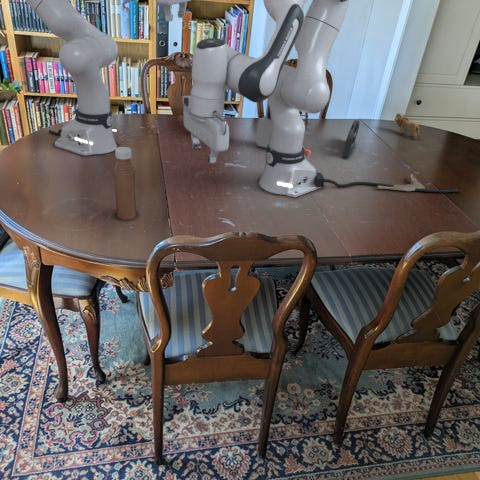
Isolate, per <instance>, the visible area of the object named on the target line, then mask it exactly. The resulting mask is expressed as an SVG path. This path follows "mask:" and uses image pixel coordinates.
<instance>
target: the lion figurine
mask: <svg viewBox="0 0 480 480" xmlns="http://www.w3.org/2000/svg"><path fill="white" fill-rule="evenodd" d="M394 123H395V124H396V125H397V127H399V131H398V132H397V134H399V135H401V134H402V133H403V132H404V130H411V133H412V134H411V135H410V136H411V137H412V139H413V140H416V139H417V137H418V139H420V140H421V139H422V137H421V136H420V127H419V126H420V125H419V124H418V122H417V123H416V122H413V121H410V120H409V119H408V117H407V116H406V115H405V114H403V113H402V112H398V113H396V115H395V117H394ZM414 137H416V138H414Z"/></svg>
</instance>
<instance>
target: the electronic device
mask: <svg viewBox="0 0 480 480" xmlns="http://www.w3.org/2000/svg"><path fill="white" fill-rule="evenodd" d="M266 100H267V101H266V109H265V110H266V111H265V114H264V116H263V117H262V118H260V120H259V125H258V128H257V132H256V137H255V146H257V148H261V149H265V150H267V145H268V144H269V139H270V130H271V115H270V108H269V103H268V99H266Z"/></svg>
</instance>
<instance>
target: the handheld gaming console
mask: <svg viewBox="0 0 480 480" xmlns="http://www.w3.org/2000/svg"><path fill="white" fill-rule="evenodd" d="M360 123H361V122H360V120H358V119H354V120H353V122H352V124H351V127H350V129H349V131H348V133H347V135H346V136H347V137H346V141H345V146H344V150H343V154H342V158H343V159H349V158H350V156H351V153H352V151H353V148H354V145H355V144H356V141H357V136H358V133H359V129H360Z"/></svg>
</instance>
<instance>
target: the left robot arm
mask: <svg viewBox="0 0 480 480" xmlns="http://www.w3.org/2000/svg"><path fill="white" fill-rule="evenodd" d="M25 1H26V3H27V5H29V6H30V8H31V9H32V10H33V12H34V13H35V14H36V16H37V17H38V18H39V19H40V20H41V22H42V23H43V24H44V26H46V28H47V29H48V30H49V31H50V32H51V34H53V35H54V36H55V37H57V38H60V39H61V40H64V41H65V42H66V43H65V44H63V45H62V46H61V47H60V49H59V52H58V59H59V62H60V65H61V67H62V68H63V69H64V70H65V71H66V72H67V73H68V74H69V75H70V77H71V79H72V82H73V83H74V87H75V92H76V101H77V108H76V109H75V110H74V111H71V115H72V116H74V115H75V116H74V118H73V119H72V120H71V121H69V122H68V123H67V124H65V125H64V126H63V127H62V128H61V129H59V130H58V131H57V132H55V131H53V130H52V129H49V130H48V132H49V133H50V134H53V135H55V136H59V135H60V137H59V138H57V139H56V140H55V142H54V146H55V147H57V148H59V149H62V150H65V151H69V152H72V153H74V154H78V155H80V156H84V157H85V156H86V157H87V156H92V155H105V154H108V153H111V152H114V151H115V149H116V148H118V145H117V142H116V140H115V135H114V132H117V129H113V111H112V109H111V97H110V88H109V87H108V85H107V84H105V83H104V80H103V78H102V74H101V70H102V69H103V68H106V67H108V66H110V65H111V64H112V63H113V62H114V61H115V60H117V57H118V55H119V47H118V44H117V41H116V40H115V39H114V38H113V37H112V36H111V35H109V34H107V33H104V32H103V31H101V30H100V29H99V28H98V27H96V26H95V25H93V24H92V23H91V22H90V21H89V20H88V19H86V18H85V17H84V16H83V15H82V14H81V13H80V12H79V11H78V10H77V9H76V8H75V6H74V5H73V4H72V3H71V2H70V0H25ZM155 1H156V4H157V5H159V6H163V12H164V16H165V17H164V18H165V22H172V21H173V18H174V15H173V14H172V13H173V12H172V9H173V6H174V5H178V11H177V18H179V19H183V18H185V15H186V13H185V12H186V9H187V4H188V2H191V1H192V0H155Z"/></svg>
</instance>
